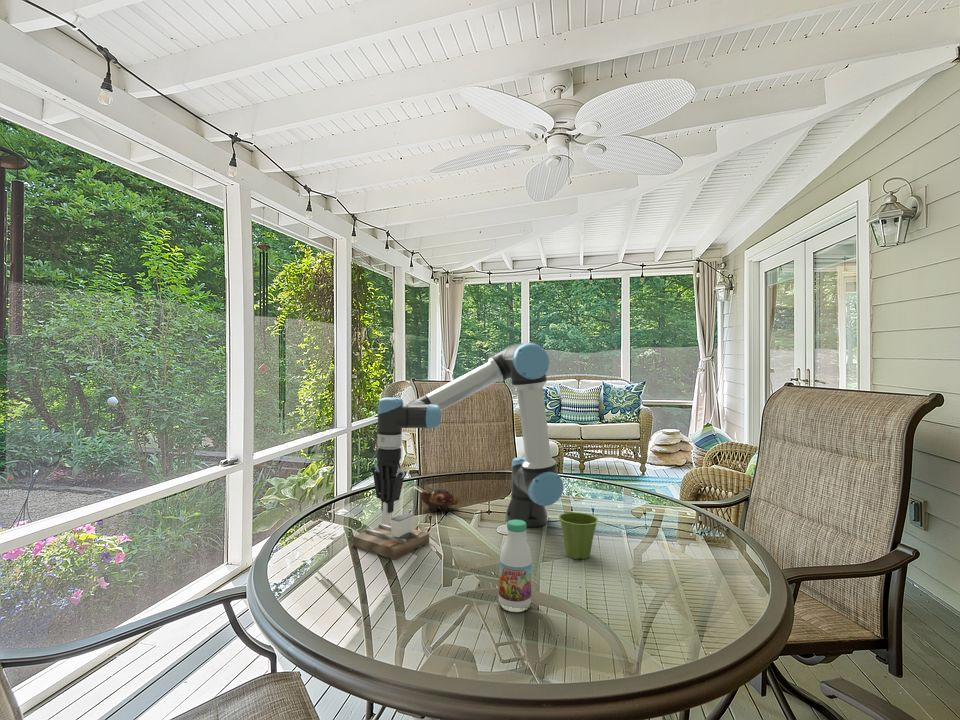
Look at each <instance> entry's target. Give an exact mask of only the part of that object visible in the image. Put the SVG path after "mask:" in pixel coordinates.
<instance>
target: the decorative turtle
mask: <svg viewBox="0 0 960 720" xmlns="http://www.w3.org/2000/svg"><path fill="white" fill-rule="evenodd" d="M420 499H421V501H422V502H423V503H424V504H425V505H427V507H428V508H429V509H430V510H431V512H433V513H435V512H437V510H439V509H440V510H441V511H443V512H447V510H448V508H449V507H450V506H455V505H458V503H459V501H460V499H459V498H458V497H456V496H454V494H453V493H452V492H451V491H449V490H447V489H443V488H439V489H438V488H437V489H434V490H431V491H430V490H426V489H425V490H422V491H421V492H420Z"/></svg>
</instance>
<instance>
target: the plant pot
mask: <svg viewBox="0 0 960 720" xmlns="http://www.w3.org/2000/svg"><path fill="white" fill-rule="evenodd" d="M558 519H559V520H560V525H561V529H562V534H563V535H562V537H563V543H564V544H563V545H564V552H565V555H566V556H567V557H569V558H571V559H574V560H578V559H582V560H587V559H588V558H589V557H590V556H591V551H592V546H593V542H594V541H593V540H594V534H595V530H596V527H597V524H598V522H599V518H598V517H597V516H595V515H592V514H589V513H584V512H575V511H574V512H573V511H572V512H564V513H561V514H560V515H558Z"/></svg>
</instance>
